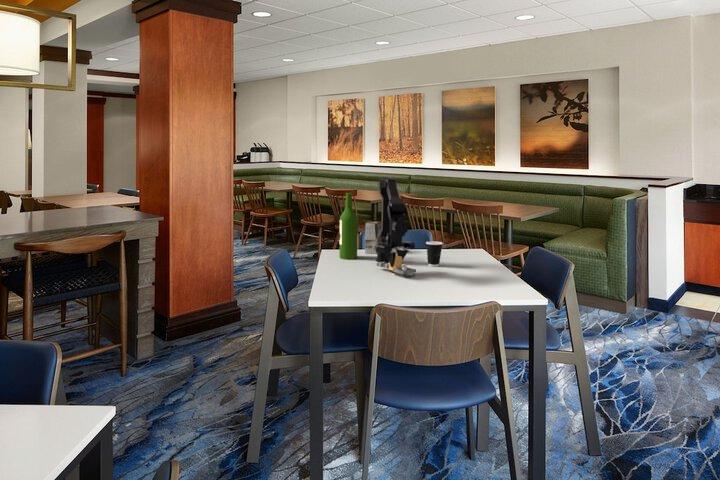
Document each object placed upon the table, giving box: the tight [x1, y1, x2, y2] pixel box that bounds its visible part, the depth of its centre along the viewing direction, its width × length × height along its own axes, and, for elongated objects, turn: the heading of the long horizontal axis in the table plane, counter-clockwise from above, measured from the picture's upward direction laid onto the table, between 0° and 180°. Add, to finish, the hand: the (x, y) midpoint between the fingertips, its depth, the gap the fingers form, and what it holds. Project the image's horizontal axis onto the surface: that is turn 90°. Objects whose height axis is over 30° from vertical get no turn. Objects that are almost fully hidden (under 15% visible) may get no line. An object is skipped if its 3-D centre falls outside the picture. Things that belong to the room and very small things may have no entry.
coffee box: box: [364, 221, 381, 255], centre depth 276 cm, size 9×6×16 cm
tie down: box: [376, 254, 417, 274], centre depth 228 cm, size 20×7×6 cm, turn 41°
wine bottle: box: [338, 192, 359, 260], centre depth 258 cm, size 9×9×32 cm
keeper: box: [394, 264, 415, 279], centre depth 223 cm, size 6×6×5 cm
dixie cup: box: [425, 240, 444, 268], centre depth 244 cm, size 8×8×11 cm
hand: (395, 266), depth 227 cm, fingers closed on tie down, 4 cm apart
